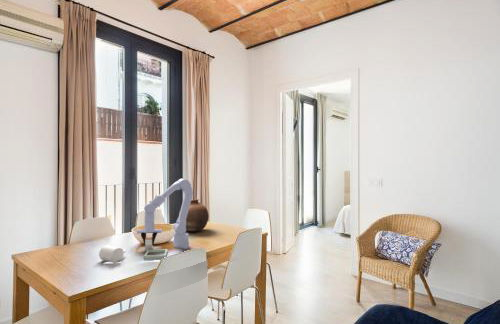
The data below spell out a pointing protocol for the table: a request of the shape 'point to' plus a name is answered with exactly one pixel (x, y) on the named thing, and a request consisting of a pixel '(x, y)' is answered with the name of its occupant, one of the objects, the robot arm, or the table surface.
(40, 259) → the table surface
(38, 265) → the table surface
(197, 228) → the pottery
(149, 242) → the white and orange block
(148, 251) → the tray
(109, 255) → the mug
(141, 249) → the clip board
